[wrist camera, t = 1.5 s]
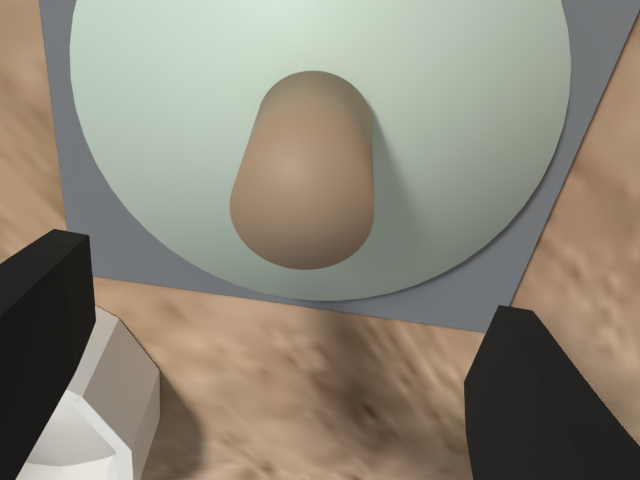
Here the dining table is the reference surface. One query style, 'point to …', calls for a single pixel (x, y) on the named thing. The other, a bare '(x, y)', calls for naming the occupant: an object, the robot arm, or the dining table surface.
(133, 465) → the bowl
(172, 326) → the dining table surface
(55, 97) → the mat
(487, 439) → the robot arm
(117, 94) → the lid
